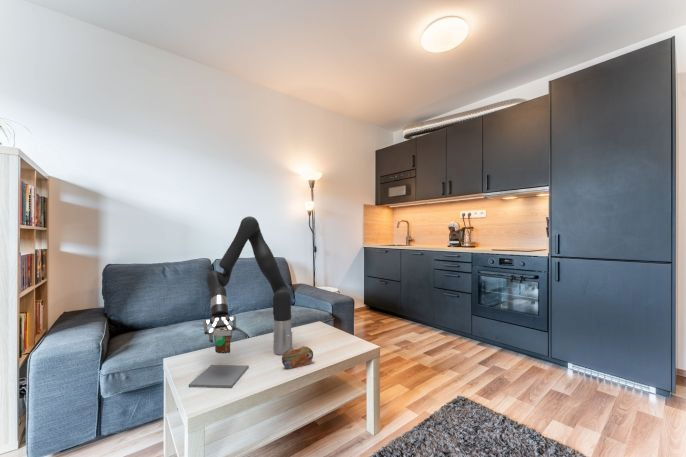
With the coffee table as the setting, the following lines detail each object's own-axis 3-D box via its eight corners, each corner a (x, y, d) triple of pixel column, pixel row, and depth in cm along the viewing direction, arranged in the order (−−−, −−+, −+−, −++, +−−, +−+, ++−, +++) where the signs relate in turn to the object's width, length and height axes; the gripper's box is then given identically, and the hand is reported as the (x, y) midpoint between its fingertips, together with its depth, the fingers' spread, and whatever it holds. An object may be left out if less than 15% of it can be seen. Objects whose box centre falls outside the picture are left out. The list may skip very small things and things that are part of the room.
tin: (282, 370, 132) (282, 352, 132) (280, 368, 134) (280, 349, 135) (313, 363, 139) (313, 346, 139) (311, 361, 141) (311, 344, 142)
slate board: (248, 367, 135) (248, 365, 135) (231, 388, 117) (231, 385, 117) (211, 366, 136) (211, 364, 136) (188, 386, 118) (188, 384, 118)
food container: (210, 347, 130) (210, 325, 130) (224, 344, 133) (224, 322, 134) (215, 357, 120) (215, 333, 120) (230, 353, 123) (230, 330, 123)
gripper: (202, 304, 131) (202, 339, 120) (236, 301, 137) (239, 333, 126) (202, 313, 135) (202, 347, 124) (234, 309, 142) (237, 341, 131)
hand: (220, 340), depth 125 cm, fingers closed on food container, 6 cm apart
